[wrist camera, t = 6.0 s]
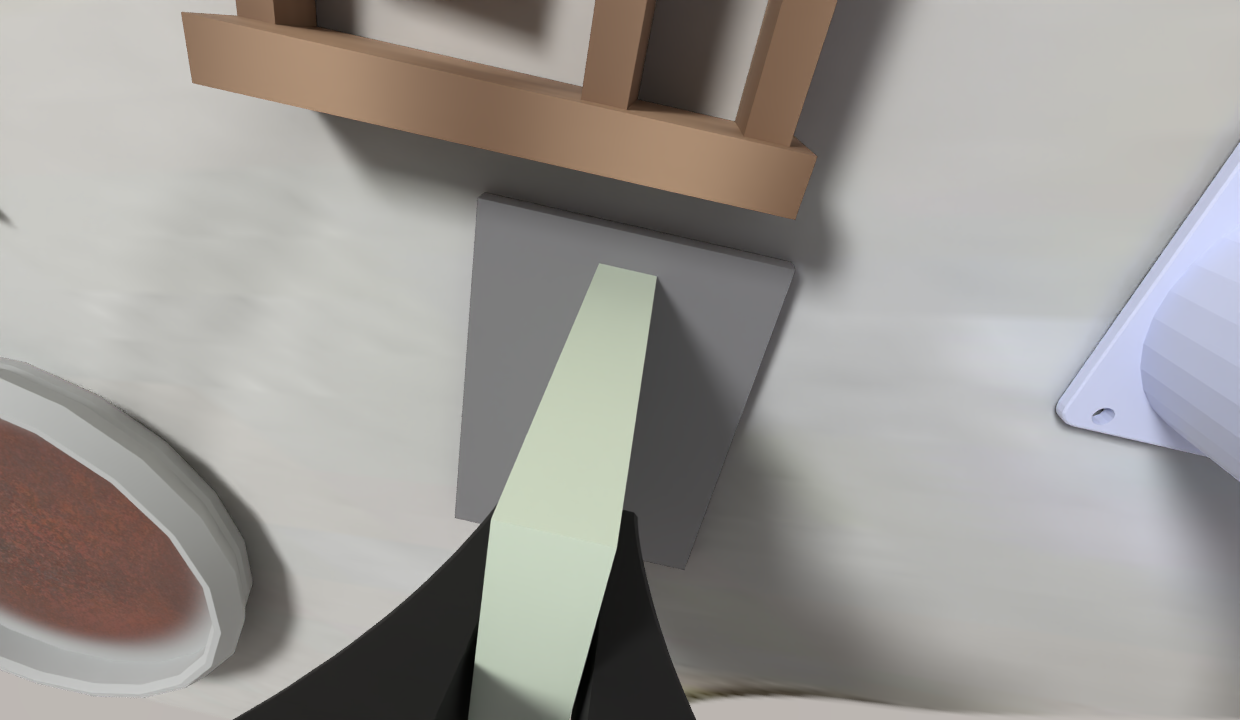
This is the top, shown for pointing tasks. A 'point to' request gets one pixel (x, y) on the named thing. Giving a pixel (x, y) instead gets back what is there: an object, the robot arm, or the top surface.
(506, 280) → the mat
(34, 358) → the top surface
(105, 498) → the frying pan
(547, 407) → the board
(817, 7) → the rack
